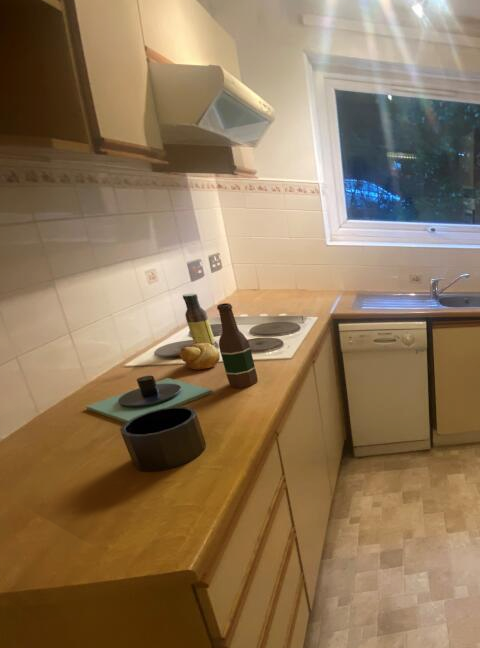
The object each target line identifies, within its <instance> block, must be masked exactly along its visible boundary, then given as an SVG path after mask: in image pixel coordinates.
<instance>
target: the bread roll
mask: <svg viewBox="0 0 480 648" xmlns="http://www.w3.org/2000/svg"><path fill="white" fill-rule="evenodd" d="M178 355H179V357H180V359H181V360H182V362H184V363H185V364H186V366H187V368H189V369H191V370H206V369H210V368H213V367H215V366H216V365H217V364H218V363H219V361H220V358H221V357H220V355H221V354H220V351H219V349H218V348H217V346H216V347H215V346H214V345H211V344H209V343H197V344H194V343H193V344H192V345H190V346H184V347H182V348H181V349H180V350H179V351H178Z"/></svg>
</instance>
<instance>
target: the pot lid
mask: <svg viewBox="0 0 480 648" xmlns="http://www.w3.org/2000/svg"><path fill="white" fill-rule="evenodd" d="M136 382H137V384H138V388H139V389H137V388H135V389H136V390H134V389H132V390H133V391H131V390H129V391H130V392H128V391H127V392H128V393H126V392H125V393H126V394H124V395H123V396H121V397H120V398H119V400H118V402H119V404H120V405H122V406H126V407H137V406H145V405H151V404H155V403H159V402H162V401H165V400H167V399H170V398H172V397H174V396H176V395H177V394H178V393H180V391H181V387H180V386H179V385H177V384H156V382H157V381H156V380H155V376H154V375H144V376H140V377H138V378H137V379H136Z"/></svg>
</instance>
